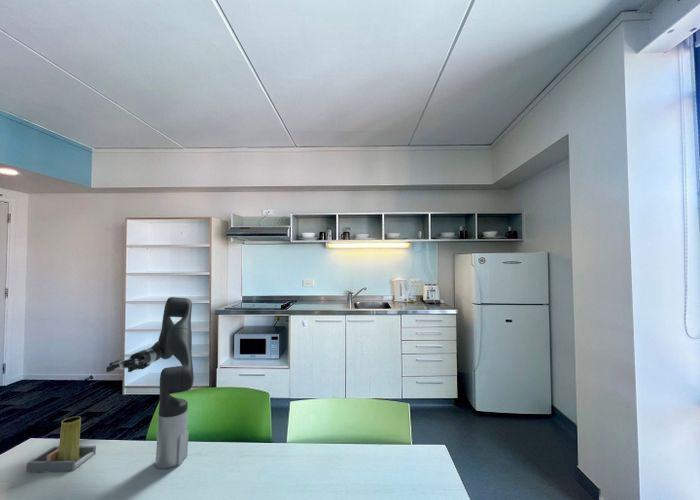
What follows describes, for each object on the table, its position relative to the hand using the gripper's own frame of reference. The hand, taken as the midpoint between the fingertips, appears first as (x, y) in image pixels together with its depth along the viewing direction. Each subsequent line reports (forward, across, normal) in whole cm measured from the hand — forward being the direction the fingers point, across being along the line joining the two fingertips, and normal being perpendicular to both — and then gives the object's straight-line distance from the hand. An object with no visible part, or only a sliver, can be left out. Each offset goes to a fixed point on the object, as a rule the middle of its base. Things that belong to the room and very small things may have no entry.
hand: (118, 369), depth 124 cm
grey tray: (+14, -8, +28) cm, 32 cm away
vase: (+14, -6, +28) cm, 32 cm away
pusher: (+14, -9, +27) cm, 32 cm away
